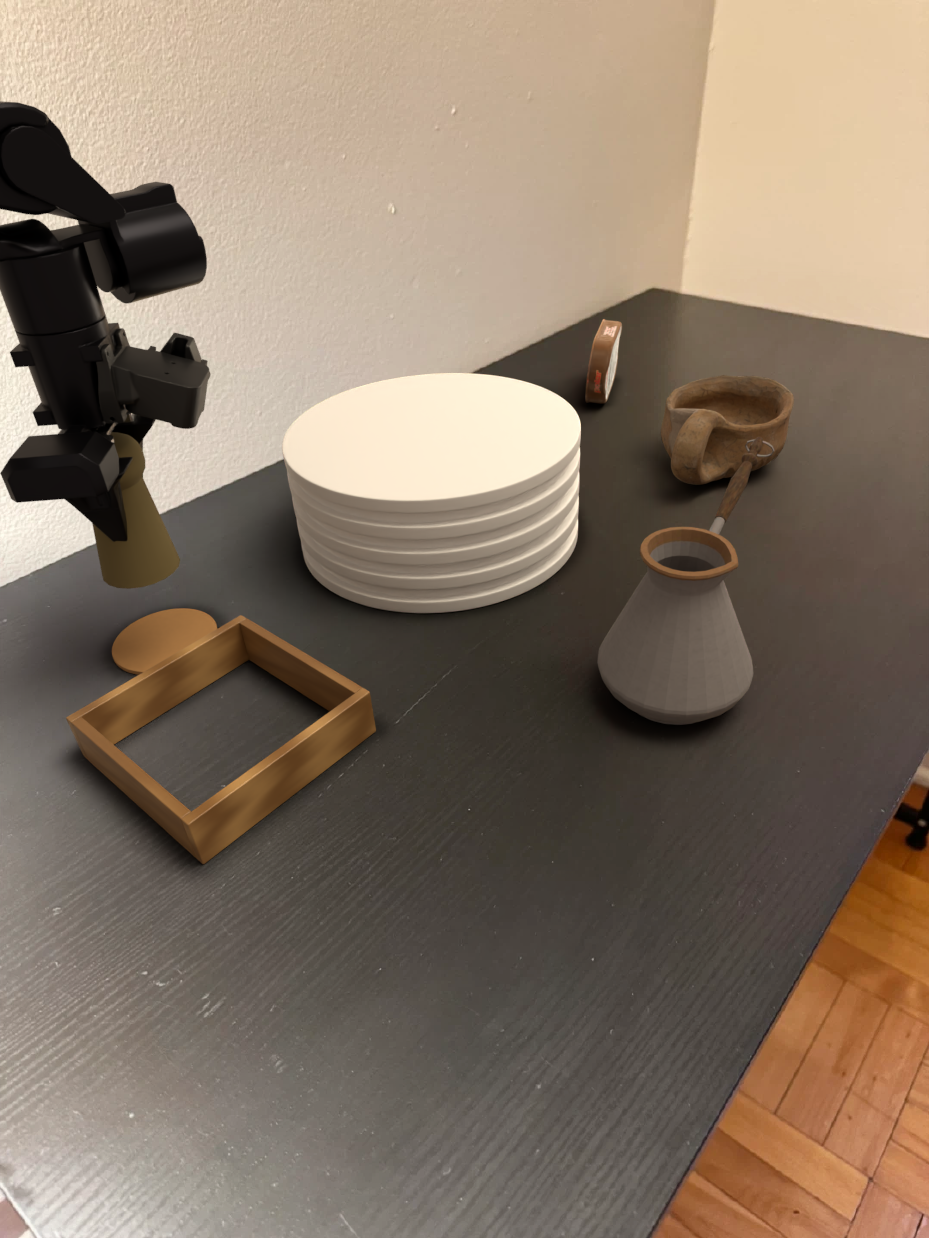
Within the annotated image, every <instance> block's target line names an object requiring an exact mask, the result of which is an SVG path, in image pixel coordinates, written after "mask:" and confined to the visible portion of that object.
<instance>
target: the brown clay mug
mask: <svg viewBox="0 0 929 1238" xmlns="http://www.w3.org/2000/svg"><path fill="white" fill-rule="evenodd" d="M794 403H795V398H794V394H793V393H792V391H791V390H789V388H787V387H786V386H785V385H783V384H782V383H780V382H779V381H777V380H776V379H772V378H769V377H765V376H759V375H741V376H739V375H727V374H721V375H716V376H710V377H705V378H699V379H697V380H693V381H690V382H687V383H686V384H683V385H681V386H679V387H677V388H675V389H674V390H672V391H671V393H670V394H669V395H668V397H667V398H666V400H665V406H664V413H663V418H662V421H661V427H660V438H661V442H662V444H663V447H664V449H665V451H666V453H667V455H668V456H669V458H670V468H671V472H672V474H673V476H674V477H675V478H676V479H677V480H679V481H681V482H682V483H685V484H687V485H688V484H689V485H695V486H701V485H707V484H709V483H711V482H716V481H719V480H722V479H728V478H732V477H733V475H734V474H735V473H736V471H737V470H738V469H739V467H740V466H741V464H742V460H741V459H742V456H743V455H744V454H748V451H747V450H746V448H745V445H746V443H747V441H749V440H753V439H756V438H757V437H761V438H763V441H766V442H768V443H769V444H771V445H772V446H773V448H774V452H773V451H772V449H771V447H769V446H768V445H766V444H764V443H762V448H761V451H760V452H759V453H758V454H759V455H768V454H771V453H772V452H773V454H772V456H769V457H757V456H756V457H757V460H758V462H757V464H756V465H755V466H753V467H752V468H751V471H750V472H753V471H756V470H760V469H761V468H762V467H764V466H767V465H768V464H770V462H772V461H774V460H775V459H776V458H777V457H778V456H779V454H780V453H781V452H782V450H783V449H784V446H785V444H786V441H787V437H788V431H789V425H790V419H791V418H790V417H791V413H792V411H793V409H794ZM752 443H753V442H750V443H748V444H747V447H748V449H749V448H750V445H751V444H752Z"/></svg>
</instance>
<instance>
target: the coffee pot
mask: <svg viewBox="0 0 929 1238" xmlns="http://www.w3.org/2000/svg"><path fill="white" fill-rule="evenodd" d="M750 442H753V443H752V444H751V445H750V448H749V449H748V447H747V444H748V443H750ZM762 443H764V444H766V445H768V446H769V447H771V449H772V451H773V452H774V448H773V446H772V445H771V444H769V443H768V442H766V441H763V438H761V437H757V438H756V439H753V440H749V441H747V443H746V445H745V448H746V450H747V451H748V454H744V455H743V456H742V459H741V460H742V464H741V466H740V467H739V469H738V470H737V471H736V473H735V474H734V475H733V476H732V477H730V479H729V483H728V485H727V488H726V490H725V492H724V495H723V497H722V499H721V502H720V504H719V506H718V509H717V511H716V514H715V516H714V520H713V522H712V524H711V526H710V528H709V530H707V529H705V528H700V527H693V526H671V527H665V528H662V529H659V530H656V531H654V532H651V533H650V534H649V535H648V536H646V537H645V538H644V539H643V541H642V543H641V544H640V546H639V556H640V557H641V560H642V562H643V563H644V564H645V565H646V570H647V571H646V573H645V574H644V576H643V577H642V579H641V580H640V581H639V583H638V585H637V586H636V588H635V589H634V591H633V592H632V594H631V596H630V597H629V599H628V600H627V602H626V603H625V605H624V606H623V608H622V610H621V612H620V613H619V614H618V616H617V618H616V619H615V621H614V623H613V624H612V626H611V627H610V629H609V631H607V633H606V635H605V637H604V639H603V640H602V642H601V644H600V646H599V647H598V652H597V660H596V661H597V662H596V663H597V668H598V670H599V673H600V676H601V680H602V681H603V683H604V685H605V686H606V688H607V690H608V691H609V693H611V695H612V696H613V698H614V699H615V700H617V701H618V702H620V703H621V704H622V705H624V706H625V707H626V708H627V709H629V710H630V711H632V712H635V713H637V714H638V715H639V716H641V717H643V718H646V719H647V720H649V721H653V722H657V723H661V724H665V725H675V726H682V725H692V724H695V723H699V722H704V721H706V720H709V719H712V718H716V717H719V716H721V715H722V714H724V713H726V712H728V711H729V710H731V709H733V708H734V707H735V706H736V705H737V704H738V703H739V702H740V701H741V700H742V699H743V697H744V696H745V694H746V693H747V692H748V691H749V690H750V688H751V684H752V681H753V678H754V666H753V659H752V656H751V653H750V650H749V647H748V645H747V642H746V639H745V636H744V633H743V630H742V628H741V625H740V623H739V620H738V619H739V618H738V617H737V614H736V611H735V608H734V606H733V602H732V599H731V598H730V594H729V591H728V589H727V586H726V583H725V581H724V580H725V579H726V578H727V577H728V576H729V575H730V574H731V573H732V572H733V571H735V570H736V569H738V567H739V558H738V555H737V551H736V549H735V547H734V546H733V544H732V543H731V542H730V541H729V540H728V539H727V538H725V537H724V536H722V535H721V532H722V530H723V528H724V525H725V523H727V521H728V519H729V517H730V516H731V514H732V512H733V511H734V509H735V507H736V505H737V503H738V501H739V499H740V498H741V497H742V494H743V493H744V491H745V489H746V488H747V485H748V482H749V477H750V474H751V472H752V471H751V468H752V467H753V466H755V465H756V464H757V462H758V460H757V457H769V456H772V454H773V452H772V453H771V454H768V455H759V454H758V453H759V452H760V451H761V448H762ZM756 456H757V457H756Z"/></svg>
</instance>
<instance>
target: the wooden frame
mask: <svg viewBox="0 0 929 1238" xmlns="http://www.w3.org/2000/svg"><path fill="white" fill-rule="evenodd" d="M217 628H218V629H216V630H214V631H213V632H211V633H209V634H208V635H206V636H204V637H202V638H201V639H199V640H197V641H196V642H194V643H192V644H191V645H189V646H187V647H185V648H184V649H182V650H180V651H179V652H177V653H175V654H173V655H172V656H170V657H168V658H167V659H165V660H163V661H162V662H160V663H158V664H156V665H155V666H153V667H151V668H150V669H148V670H146V671H145V672H143V673H141V674H139V675H136V676H134V677H133V678H131V679H129V680H128V681H125V682H124V683H122V684H121V685H118V686H117V687H115V688H114V689H112V690H110V691H109V692H106V693H105V694H103V695H101V696H100V697H98V698H97V699H95V700H94V701H92V702H90V703H88V704H87V705H85V706H83V707H81V708H79V709H78V710H77V711H75V712H73V713H71V714H69V715H68V716H66V717H65V719H66V721H67V724H68V726H69V728H70V730H71V732H72V735H73V736H74V739H75V741H76V743H77V746H78V747H79V749H80V752H81V754H82V756H83V757H84V758H85V759H86V760H87V761H88V762H89V763H90V764H92V765H93V766H94V767H95V768H96V769H97V770H98V771H99V772H101V773H102V775H104V776H105V777H106V778H107V780H109V781H110V782H111V783H113V785H114V786H116V787H117V788H118V789H119V790H120V792H122V793H124V795H126V797H128V798H129V799H130V800H131V801H132V802H134V803H135V804H136V806H137V807H139V808H140V809H141V810H142V811H143V812H144V813H145V814H147V815H148V816H149V817H150V818H151V819H152V820H153V821H154V822H155V823H156V824H158V825H159V826H160V827H161V828H162V829H163V830H164V831H165V832H166V833H168V835H170V836H171V837H172V838H173V839H174V840H175V841H176V842H177V843H178V844H179V845H180V846H182V847H183V848H184V849H185V850H186V851H187V852H188V853H190V854H191V855H192V856H193V857H194V858H195V859H196V860H197V861H198V862H200V863H201V864H202V865H205V864H207V863H208V862H209V861H210V860H212V859H213V858H214V857H215V856H217V855H218V854H219V853H220V852H222V851H223V850H225V848H226V849H227V847H229V846H230V845H231V844H232V843H233V842H235V841H236V840H237V839H239V838H240V837H242V836H243V835H244V834H245V833H246V832H248V831H249V830H250V829H252V828H253V827H254V826H255V825H257V824H258V823H260V822H261V821H262V820H264V818H266V817H268V815H270V814H271V813H273V812H274V811H275V810H277V808H279V807H280V806H281V805H283V804H284V803H285V802H287V801H288V800H289V799H290V798H292V797H293V796H294V795H295V794H297V793H299V791H301V790H302V789H304V787H306V786H307V785H309V784H310V783H311V782H312V781H314V780H315V779H317V778H318V777H319V776H320V775H322V774H323V773H324V772H325V771H326V770H328V769H330V768H331V767H332V766H333V765H335V764H336V763H337V762H338V761H340V760H341V759H342V758H343V757H345V756H346V755H347V754H348V753H350V752H351V751H352V750H354V749H355V748H357V747H358V746H359V745H360V744H362V743H363V742H364V741H365V740H367V739H368V738H369V737H370V736H372V735H373V734H374V733H376V732H377V727H376V721H375V715H374V710H373V704H372V703H373V702H372V696H371V692H370V691H369V690H367V689H366V688H365V687H363V686H361V685H359V684H357V682H355V681H353V680H351V679H349V678H348V677H346V676H344V675H343V674H341V673H339V672H337V671H335V670H334V669H333V668H331V667H329V666H327V665H326V664H325V663H323V662H321V661H319V660H318V659H316V658H314V657H312V655H309V654H308V653H306V652H304V651H303V650H301V649H299V648H297V647H296V646H294V645H293V644H291V643H289V642H287V641H286V640H284V639H283V638H280V636H277V635H275V634H274V633H272V632H271V631H269V630H267V629H266V628H264V627H262V626H261V625H259V624H257V623H255V622H254V621H252V620H251V619H249V618H247V617H246V616H244V615H241V614H240V615H238V616H236V617H235V618H233V619H232V620H229V621H228V622H226V623H224V624H223V625H221V626H220V627H217ZM248 661H250V662H252V663H253V664H255V665H256V666H258V667H260V668H261V669H263V670H264V671H266V672H267V673H269V674H270V675H272V676H274V677H275V678H276V679H278V680H280V681H282V682H283V683H284V684H286V685H288V686H289V687H291V688H293V689H294V690H296V691H297V692H298V693H300V694H302V695H303V696H304V697H306V698H308V699H309V700H311V701H313V702H314V703H315V704H317V705H319V706H320V707H322V708H323V709H325V710H326V711H328V712H327V713H325V714H324V715H323V716H322V717H320V718H319V719H317V720H316V721H314V722H313V723H312V724H311V725H309V726H307V727H306V728H304V729H303V730H302V731H301V732H300V733H298V734H297V735H295V736H294V737H292V738H291V739H290V740H288V741H287V742H286V743H284V744H283V745H281V746H280V747H278V748H277V749H275V750H274V751H273V752H272V753H270V754H269V755H268V756H266V757H265V758H264V759H262V760H260V761H259V762H257V764H255V765H254V766H252V767H251V768H250V769H248V770H246V771H245V772H244V773H242V774H241V775H240V776H238V777H237V778H235V779H234V780H233V781H231V782H230V783H229V784H227V785H225V787H223V788H222V789H220V790H219V791H218V792H216V793H215V794H214V795H212V796H211V797H209V798H208V799H207V800H205V801H204V802H202V803H201V804H199V805H198V806H197V807H196V808H194V809H192V810H190V809H189V808H188V807H187V806H185V804H183V803H182V802H181V801H180V800H179V799H177V798H176V796H174V795H173V794H172V793H170V791H168V789H166V788H165V787H164V786H162V784H160V783H159V782H158V781H157V780H155V779H154V778H153V777H152V776H151V775H150V774H149V773H147V772H146V771H145V770H144V769H143V768H141V767H140V766H139V765H138V764H137V763H136V762H135V761H134V760H132V759H131V758H130V757H129V756H128V755H126V754H125V753H124V752H123V751H122V750H121V749H120V748H118V747H117V746H115V745H116V744H117V743H120V741H122V740H124V739H125V738H127V737H128V736H130V735H131V734H133V733H135V732H136V731H138V730H139V729H142V728H143V727H144V726H146V725H148V724H149V723H151V722H152V721H154V720H155V719H157V718H158V717H160V716H162V715H164V714H165V713H166V712H168V711H170V710H171V709H173V708H175V707H176V706H178V705H179V704H181V703H183V702H185V700H187V699H189V698H191V697H192V696H194V695H195V694H197V693H199V692H200V691H202V690H203V689H205V688H206V687H208V686H209V685H211V684H213V683H214V682H216V681H218V680H219V679H220V678H222V677H224V676H225V675H227V674H229V673H230V672H232V671H233V670H235V669H237V668H238V667H240V666H241V665H243V664H245V663H246V662H248Z"/></svg>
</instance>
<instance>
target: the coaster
mask: <svg viewBox="0 0 929 1238" xmlns="http://www.w3.org/2000/svg"><path fill="white" fill-rule="evenodd" d="M218 628H219V627H218V625H217V622H216V621H215V619H214V618H213V617H212V616H211V615H210V614H208V613H206V612H205V611H202V610H199V609H194V608H187V607H186V608H183V607H181V608H179V607H177V608H170V609H163V610H160V611H156V612H153V613H150V614H148V615H146V616H143V617H141V618H138V619H137V620H135V621H133V622H132V623H130V624H128V626H127V627H125V628H124V629H122V631H120V633H119V634H118V635H117V637H116V638H115V639H114V641H113V644H112V646H111V656H112V659H113V661H114V663H115V664H116V666H118V668H119V669H121V670H123V671H124V672H127V673H129V674H133V675H136V676H138V675H139V674H141V673H143V672H145V671H146V670H148V669H150V668H151V667H153V666H155V665H156V664H158V663H160V662H162V661H163V660H165V659H167V658H168V657H170V656H172V655H173V654H175V653H177V652H179V651H180V650H182V649H184V648H185V647H187V646H189V645H191V644H192V643H194V642H196V641H197V640H199V639H201V638H202V637H204V636H206V635H208V634H209V633H211V632H213V631H214V630H216V629H218Z"/></svg>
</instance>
